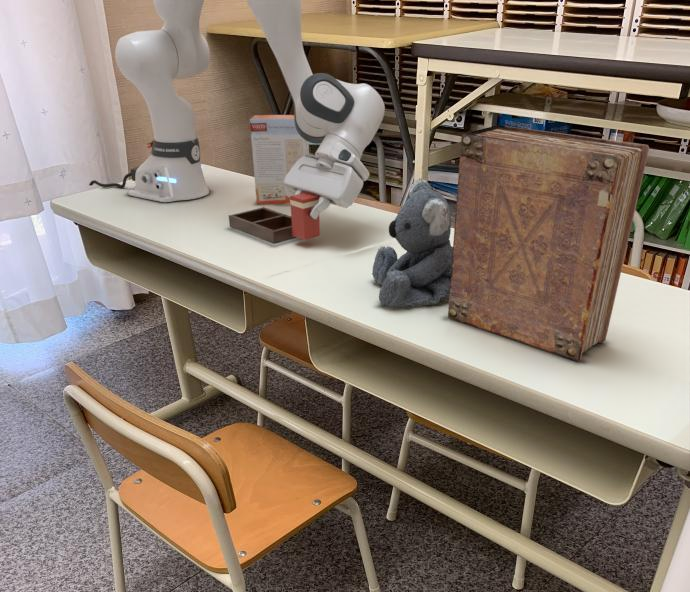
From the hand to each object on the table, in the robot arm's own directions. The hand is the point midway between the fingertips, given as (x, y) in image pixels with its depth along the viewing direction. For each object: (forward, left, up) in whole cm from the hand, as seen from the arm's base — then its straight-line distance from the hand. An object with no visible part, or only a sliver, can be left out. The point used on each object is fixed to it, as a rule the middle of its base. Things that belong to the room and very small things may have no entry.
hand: (303, 214), depth 150 cm
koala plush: (+32, -16, -7) cm, 37 cm away
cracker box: (-21, +31, -7) cm, 39 cm away
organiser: (-12, +6, -7) cm, 16 cm away
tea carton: (0, +1, -5) cm, 5 cm away
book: (+54, -26, -7) cm, 60 cm away
